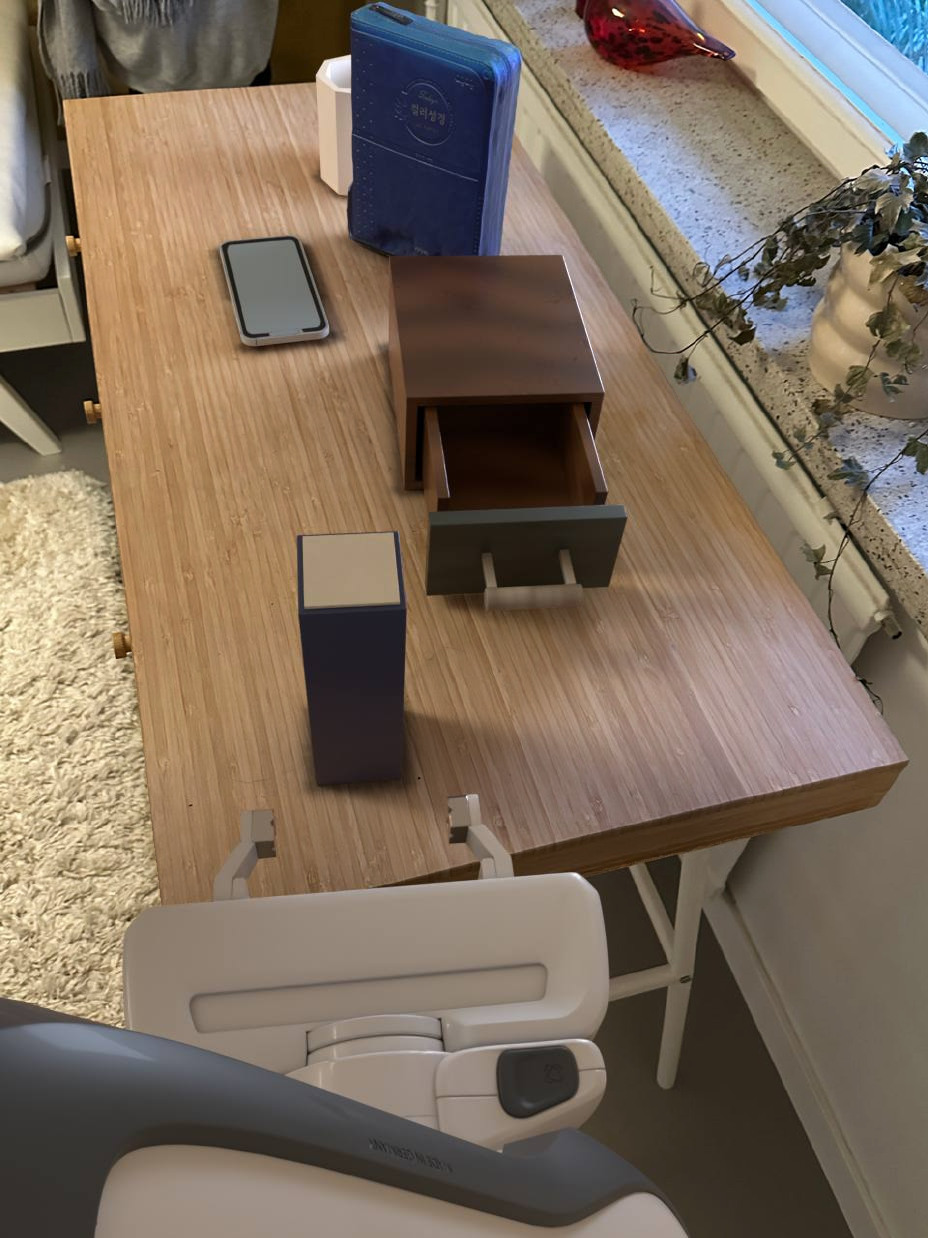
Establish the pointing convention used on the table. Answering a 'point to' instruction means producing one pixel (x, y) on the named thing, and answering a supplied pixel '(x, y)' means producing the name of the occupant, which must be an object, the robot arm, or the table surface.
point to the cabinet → (484, 339)
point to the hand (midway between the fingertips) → (361, 807)
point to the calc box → (353, 653)
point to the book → (429, 135)
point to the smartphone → (272, 290)
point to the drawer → (515, 504)
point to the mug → (335, 123)
